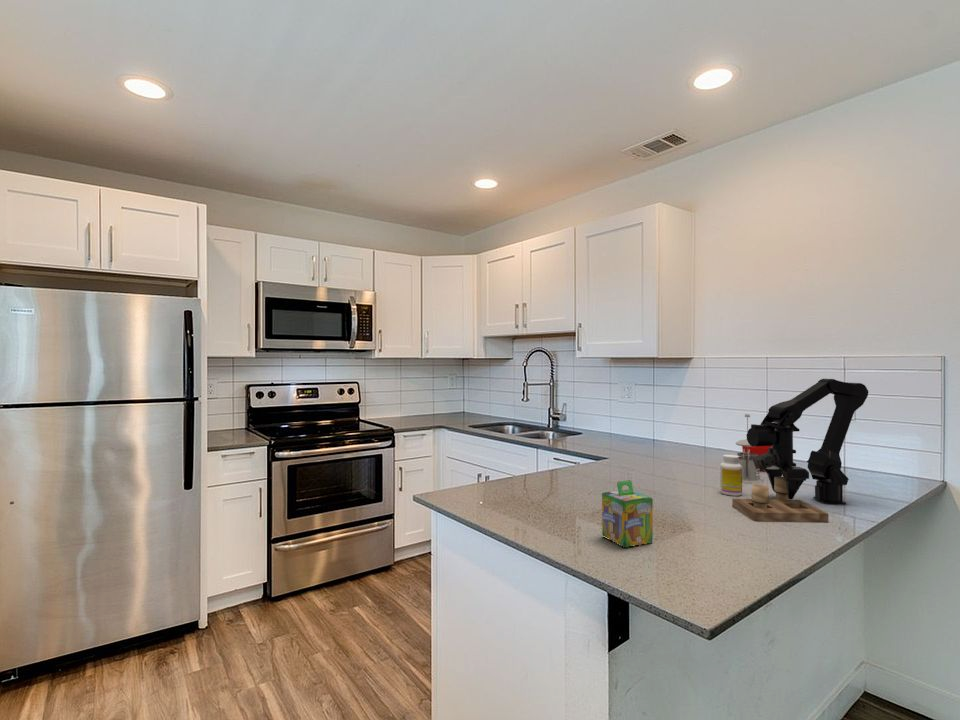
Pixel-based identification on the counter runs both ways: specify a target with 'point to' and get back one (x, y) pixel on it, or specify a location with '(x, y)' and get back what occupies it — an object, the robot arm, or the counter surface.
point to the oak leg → (780, 488)
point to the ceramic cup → (757, 450)
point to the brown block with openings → (777, 508)
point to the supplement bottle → (731, 476)
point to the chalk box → (627, 516)
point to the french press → (748, 462)
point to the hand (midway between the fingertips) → (782, 495)
